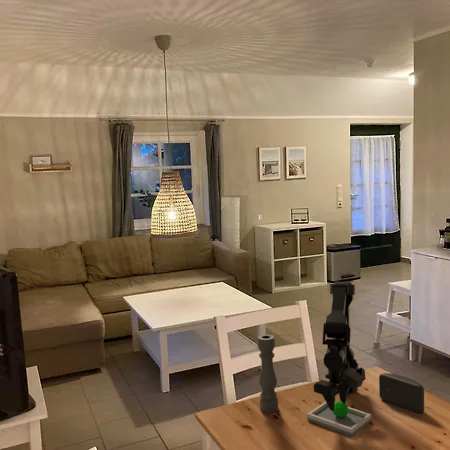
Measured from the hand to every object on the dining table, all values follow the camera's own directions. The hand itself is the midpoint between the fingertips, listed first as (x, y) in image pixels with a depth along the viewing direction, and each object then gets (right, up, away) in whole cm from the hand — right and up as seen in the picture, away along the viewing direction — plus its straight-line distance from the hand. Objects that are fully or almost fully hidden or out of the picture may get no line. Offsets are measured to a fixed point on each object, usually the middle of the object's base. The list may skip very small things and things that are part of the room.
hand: (337, 406), depth 158 cm
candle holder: (-21, -5, +12) cm, 24 cm away
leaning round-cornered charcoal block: (+23, -3, +8) cm, 25 cm away
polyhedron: (+1, -4, +1) cm, 4 cm away
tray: (+1, -5, +1) cm, 5 cm away
